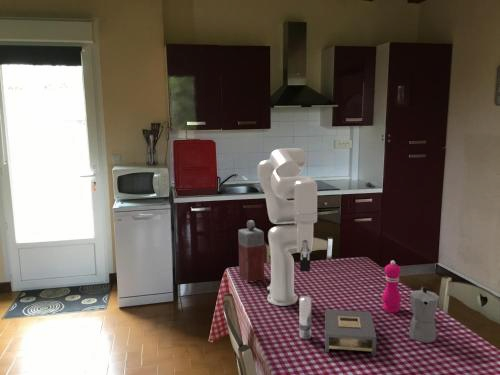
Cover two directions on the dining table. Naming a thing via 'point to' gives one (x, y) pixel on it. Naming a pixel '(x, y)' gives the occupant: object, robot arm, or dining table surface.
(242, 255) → the brown lidded canister
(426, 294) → the coffeepot
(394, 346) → the dining table surface
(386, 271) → the pepper mill
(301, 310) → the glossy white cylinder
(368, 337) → the grey square socket block
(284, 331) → the dining table surface
